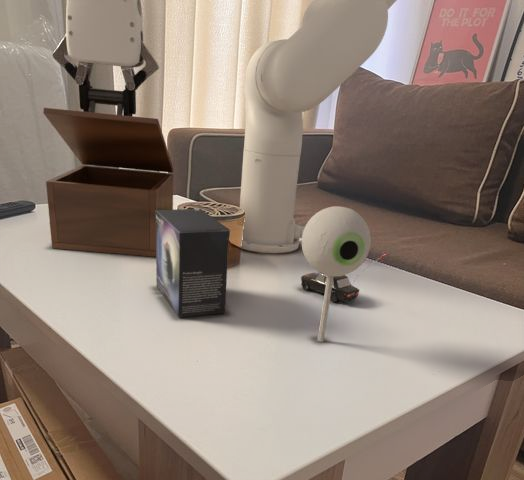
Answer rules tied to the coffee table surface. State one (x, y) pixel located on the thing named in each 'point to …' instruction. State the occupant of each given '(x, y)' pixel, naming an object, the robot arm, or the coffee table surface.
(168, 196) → the chest
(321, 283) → the toy car
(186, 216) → the small box
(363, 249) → the lollipop
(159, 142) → the lid
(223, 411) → the coffee table surface
